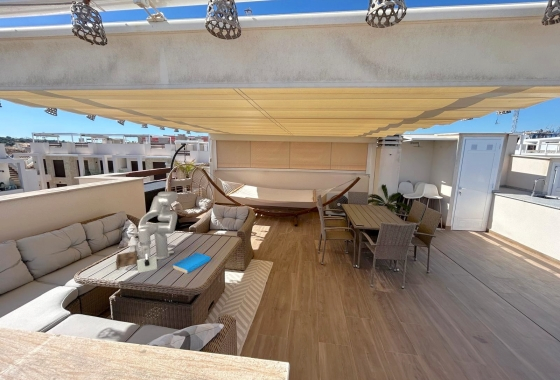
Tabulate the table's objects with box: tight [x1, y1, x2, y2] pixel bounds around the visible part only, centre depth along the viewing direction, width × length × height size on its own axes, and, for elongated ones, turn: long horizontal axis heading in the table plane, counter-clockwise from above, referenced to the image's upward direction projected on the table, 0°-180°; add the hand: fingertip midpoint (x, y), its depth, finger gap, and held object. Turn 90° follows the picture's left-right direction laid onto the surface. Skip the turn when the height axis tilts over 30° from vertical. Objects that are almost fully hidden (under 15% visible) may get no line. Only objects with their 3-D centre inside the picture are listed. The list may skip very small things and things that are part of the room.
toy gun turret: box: [125, 234, 143, 256], centre depth 202 cm, size 12×13×18 cm
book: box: [172, 252, 212, 274], centre depth 189 cm, size 17×4×25 cm
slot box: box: [115, 251, 139, 271], centre depth 187 cm, size 14×15×7 cm
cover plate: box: [136, 255, 158, 274], centre depth 178 cm, size 13×2×10 cm, turn 122°
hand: (147, 264), depth 177 cm, fingers open, 4 cm apart
